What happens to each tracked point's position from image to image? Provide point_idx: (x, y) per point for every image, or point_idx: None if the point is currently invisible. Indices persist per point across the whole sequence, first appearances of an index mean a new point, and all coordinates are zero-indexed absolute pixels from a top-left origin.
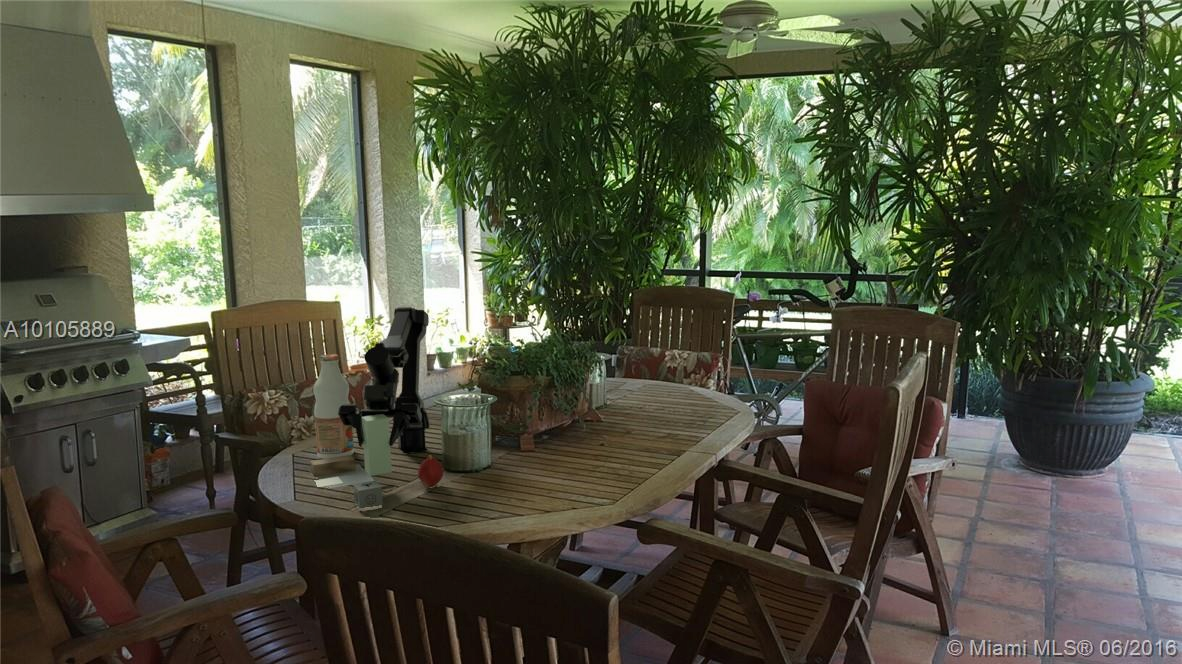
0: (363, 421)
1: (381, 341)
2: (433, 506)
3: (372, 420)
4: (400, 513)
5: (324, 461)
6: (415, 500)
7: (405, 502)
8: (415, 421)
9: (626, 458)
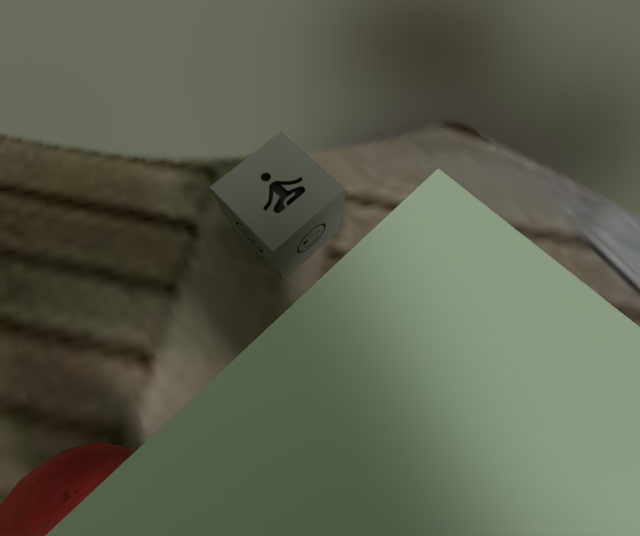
0: None
1: None
2: (60, 277)
3: (361, 251)
4: (155, 198)
5: None
6: (145, 321)
7: (176, 294)
8: None
9: None
